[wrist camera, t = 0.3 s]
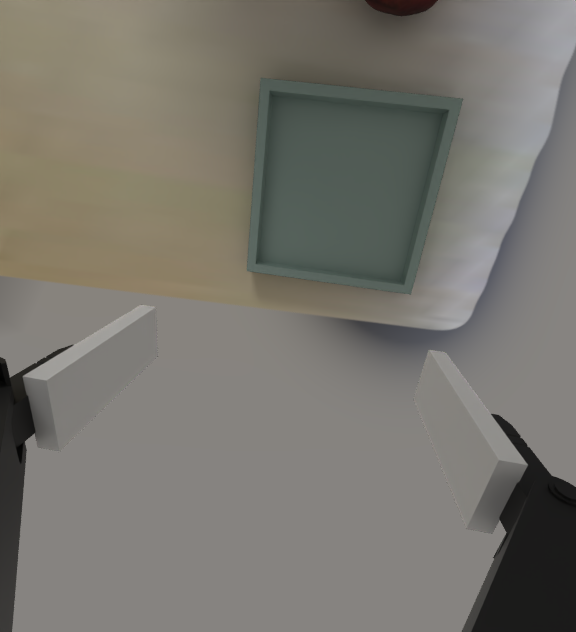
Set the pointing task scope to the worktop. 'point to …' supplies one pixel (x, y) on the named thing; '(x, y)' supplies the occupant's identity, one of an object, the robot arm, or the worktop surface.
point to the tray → (346, 182)
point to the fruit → (401, 6)
